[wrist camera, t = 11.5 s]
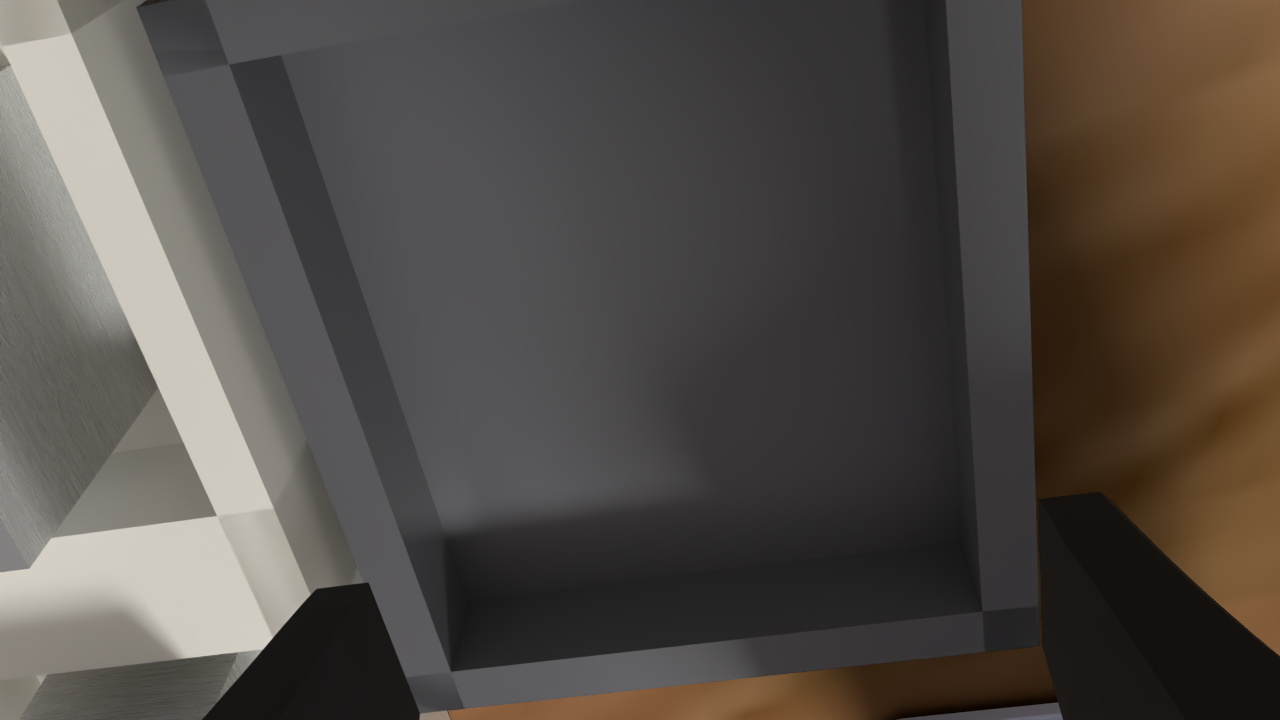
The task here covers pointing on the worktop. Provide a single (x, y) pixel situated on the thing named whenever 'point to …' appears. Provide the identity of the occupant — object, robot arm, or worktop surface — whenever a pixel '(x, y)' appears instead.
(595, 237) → the tote
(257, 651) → the seated billet
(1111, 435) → the worktop surface
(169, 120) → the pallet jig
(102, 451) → the block
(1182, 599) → the robot arm
